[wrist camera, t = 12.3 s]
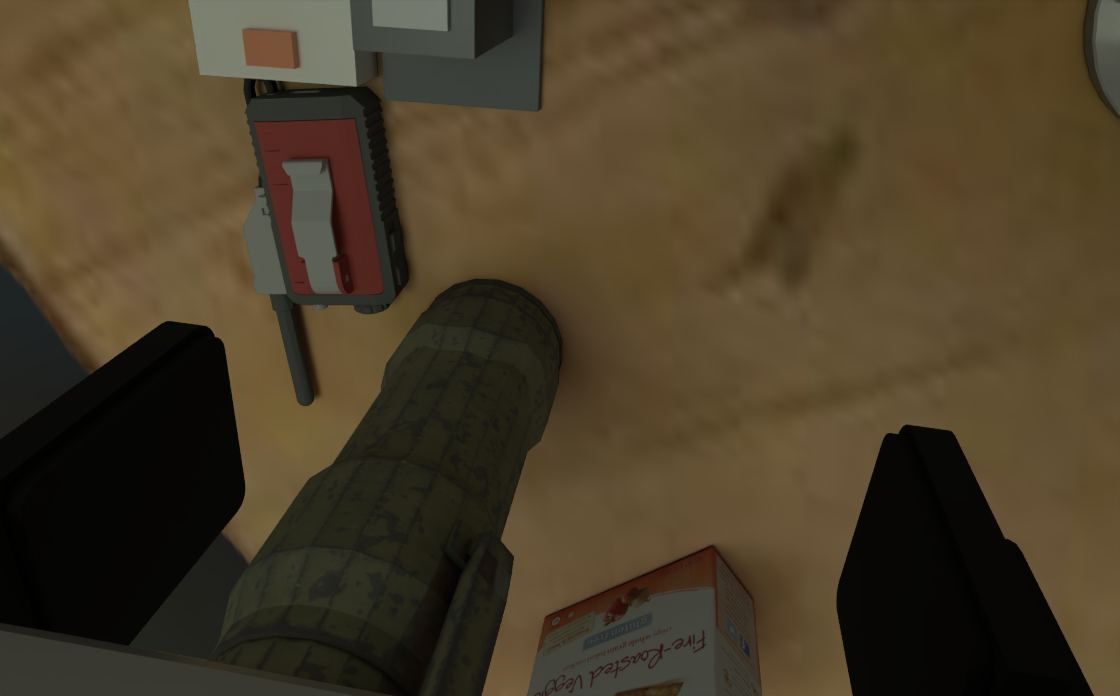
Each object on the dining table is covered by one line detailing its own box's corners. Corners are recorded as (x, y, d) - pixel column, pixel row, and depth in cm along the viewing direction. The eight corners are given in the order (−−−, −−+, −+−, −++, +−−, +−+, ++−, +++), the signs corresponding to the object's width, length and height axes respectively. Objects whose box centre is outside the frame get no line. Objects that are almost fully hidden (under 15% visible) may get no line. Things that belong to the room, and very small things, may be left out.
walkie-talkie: (222, 68, 43) (300, 393, 52) (176, 81, 39) (268, 431, 48) (380, 61, 41) (431, 396, 50) (348, 74, 37) (409, 435, 46)
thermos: (370, 338, 48) (-178, 1041, 18) (522, 235, 44) (145, 930, 13) (461, 443, 51) (123, 1214, 20) (613, 355, 47) (475, 1169, 16)
